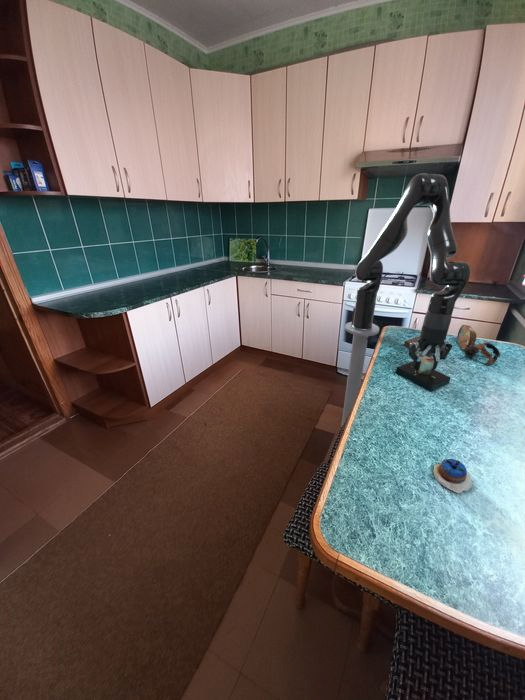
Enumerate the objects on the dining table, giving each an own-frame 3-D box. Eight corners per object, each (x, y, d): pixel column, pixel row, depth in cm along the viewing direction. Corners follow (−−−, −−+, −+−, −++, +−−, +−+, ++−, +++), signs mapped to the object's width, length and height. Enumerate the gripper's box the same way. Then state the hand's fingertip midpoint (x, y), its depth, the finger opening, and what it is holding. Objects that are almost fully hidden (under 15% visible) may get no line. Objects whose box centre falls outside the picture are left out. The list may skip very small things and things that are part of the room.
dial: (418, 375, 101) (422, 362, 98) (412, 368, 105) (416, 355, 103) (433, 375, 100) (437, 362, 98) (426, 368, 105) (430, 355, 103)
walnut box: (403, 345, 128) (405, 340, 126) (418, 341, 132) (420, 335, 131) (428, 356, 118) (430, 351, 117) (444, 351, 122) (445, 345, 121)
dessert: (439, 455, 71) (460, 449, 66) (460, 479, 69) (483, 475, 65) (424, 474, 67) (445, 470, 62) (446, 501, 65) (469, 498, 60)
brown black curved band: (478, 353, 121) (495, 341, 114) (488, 372, 115) (507, 361, 109) (454, 348, 118) (470, 336, 112) (463, 367, 113) (480, 355, 106)
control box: (395, 372, 107) (396, 366, 106) (413, 366, 112) (415, 360, 110) (430, 391, 96) (432, 385, 95) (449, 383, 100) (451, 377, 99)
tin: (455, 338, 133) (460, 321, 129) (463, 339, 132) (469, 322, 128) (463, 353, 120) (470, 334, 117) (472, 354, 119) (479, 335, 116)
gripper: (451, 320, 98) (438, 364, 106) (408, 320, 98) (398, 364, 106) (465, 328, 91) (450, 374, 99) (419, 329, 92) (407, 374, 99)
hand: (423, 369), depth 102 cm, fingers closed on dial, 5 cm apart
